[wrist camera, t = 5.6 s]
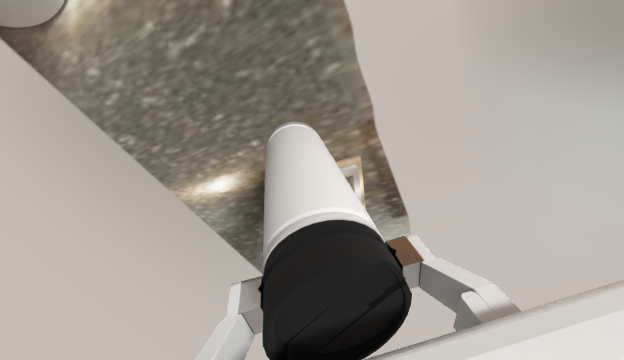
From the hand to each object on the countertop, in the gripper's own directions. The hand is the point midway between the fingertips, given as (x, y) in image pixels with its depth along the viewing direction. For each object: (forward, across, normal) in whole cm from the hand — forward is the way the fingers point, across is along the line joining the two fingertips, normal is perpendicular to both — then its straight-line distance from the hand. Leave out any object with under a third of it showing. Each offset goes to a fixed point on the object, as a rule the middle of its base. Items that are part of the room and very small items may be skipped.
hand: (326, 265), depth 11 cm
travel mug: (+17, 0, 0) cm, 17 cm away
